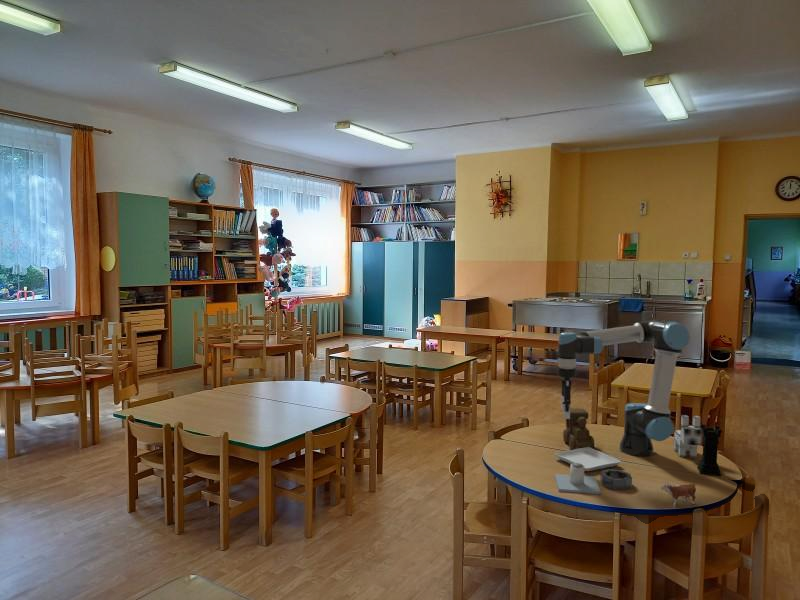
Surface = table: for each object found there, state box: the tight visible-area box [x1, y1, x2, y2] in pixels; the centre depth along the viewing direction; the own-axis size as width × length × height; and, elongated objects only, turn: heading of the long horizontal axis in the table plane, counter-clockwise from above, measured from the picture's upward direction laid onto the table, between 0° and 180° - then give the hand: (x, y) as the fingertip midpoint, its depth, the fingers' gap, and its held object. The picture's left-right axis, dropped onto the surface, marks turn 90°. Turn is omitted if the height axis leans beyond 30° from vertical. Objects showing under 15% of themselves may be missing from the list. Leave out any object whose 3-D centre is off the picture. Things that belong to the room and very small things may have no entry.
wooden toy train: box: [562, 407, 595, 450], centre depth 284 cm, size 20×11×17 cm, turn 179°
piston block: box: [554, 463, 602, 495], centre depth 236 cm, size 16×16×8 cm
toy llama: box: [672, 414, 703, 459], centre depth 273 cm, size 8×18×20 cm, turn 170°
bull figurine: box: [660, 481, 697, 506], centre depth 219 cm, size 4×13×8 cm, turn 95°
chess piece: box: [696, 423, 723, 477], centre depth 251 cm, size 8×8×20 cm
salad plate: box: [554, 447, 622, 472], centre depth 261 cm, size 21×21×3 cm
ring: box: [599, 468, 633, 491], centre depth 237 cm, size 12×12×4 cm
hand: (565, 414), depth 257 cm, fingers open, 13 cm apart
